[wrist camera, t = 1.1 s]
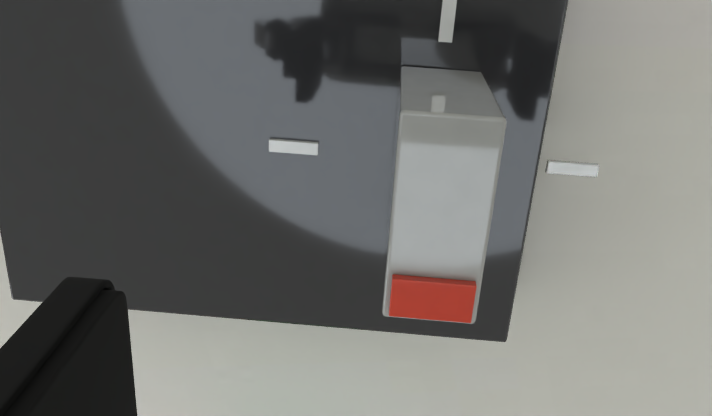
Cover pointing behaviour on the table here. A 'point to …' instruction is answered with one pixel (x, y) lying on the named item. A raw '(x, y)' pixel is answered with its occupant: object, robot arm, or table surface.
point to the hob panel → (250, 149)
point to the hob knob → (441, 194)
